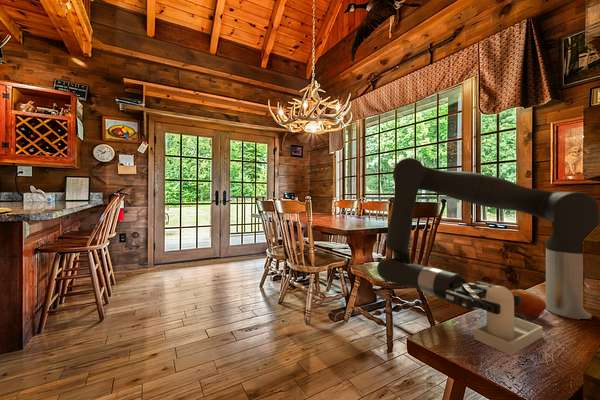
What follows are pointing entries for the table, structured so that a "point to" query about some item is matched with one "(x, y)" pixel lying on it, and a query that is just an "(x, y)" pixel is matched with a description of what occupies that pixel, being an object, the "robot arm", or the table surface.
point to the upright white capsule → (505, 320)
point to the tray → (522, 336)
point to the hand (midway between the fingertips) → (510, 305)
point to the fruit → (528, 304)
